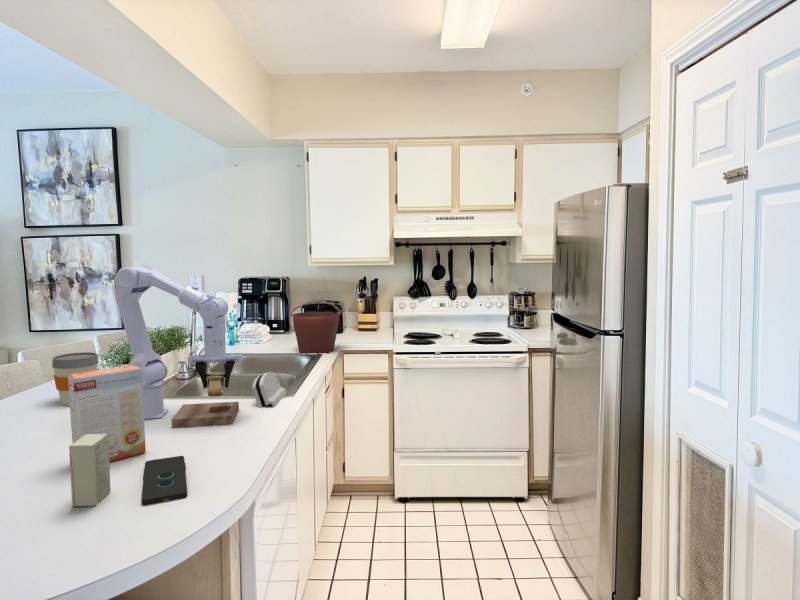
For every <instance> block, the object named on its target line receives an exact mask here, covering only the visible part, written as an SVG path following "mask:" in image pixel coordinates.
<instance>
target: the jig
mask: <svg viewBox="0 0 800 600" xmlns="http://www.w3.org/2000/svg"><path fill="white" fill-rule="evenodd" d="M239 402H240V401H227V402H208V403H207V402H205V403H204V402H203V403H202V402H201V403H187V404H186V403H183V404H182V405H181V407H180V408H179V410H178V411H177V412H175V414H174V415H173V417H172V418H171V429H182V428H181V427H184V428H194V427H195V428H197V427H198V426H201V427H211V426H212V427H214V426H213V425H218V426H232V425H231V424H233V425H234V423H233V422H235V420H236V418H235V417H237V415H238V412H239V410H240V408H239V407H240V405H239V404H240V403H239ZM229 424H230V425H229Z"/></svg>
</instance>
